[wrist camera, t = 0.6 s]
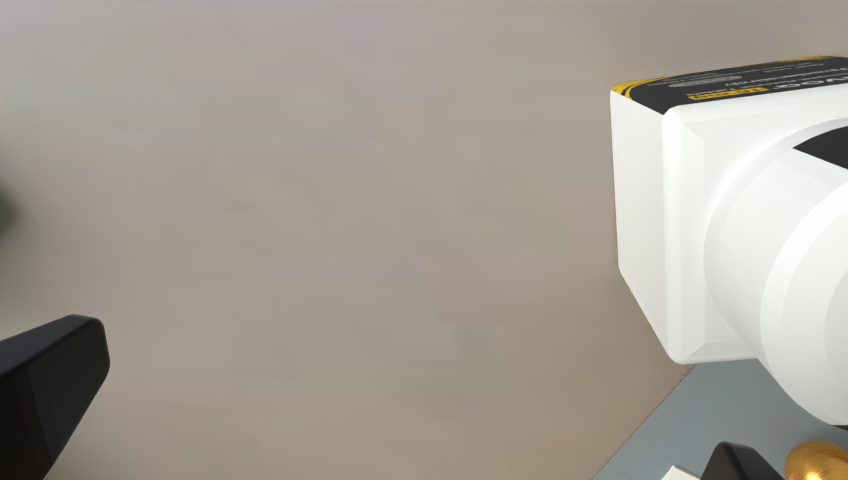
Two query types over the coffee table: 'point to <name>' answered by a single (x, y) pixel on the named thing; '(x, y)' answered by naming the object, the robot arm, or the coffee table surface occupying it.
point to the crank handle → (816, 462)
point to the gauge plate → (717, 424)
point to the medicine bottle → (741, 219)
